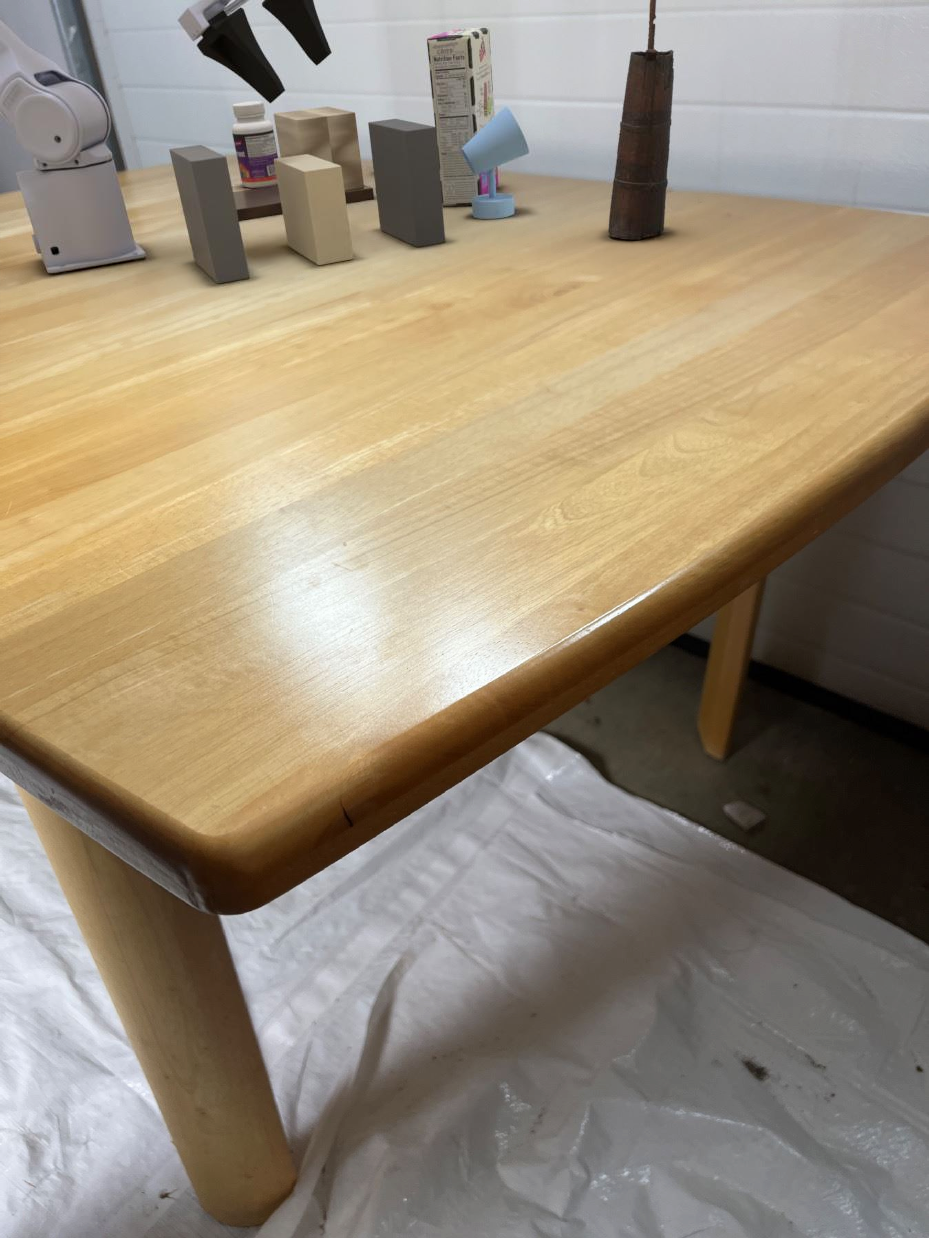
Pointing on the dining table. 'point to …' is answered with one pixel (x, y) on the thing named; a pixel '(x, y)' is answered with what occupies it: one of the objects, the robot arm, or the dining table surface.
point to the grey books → (399, 179)
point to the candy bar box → (460, 107)
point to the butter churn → (643, 144)
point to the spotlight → (494, 161)
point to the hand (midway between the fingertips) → (301, 78)
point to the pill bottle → (254, 145)
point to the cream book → (314, 208)
